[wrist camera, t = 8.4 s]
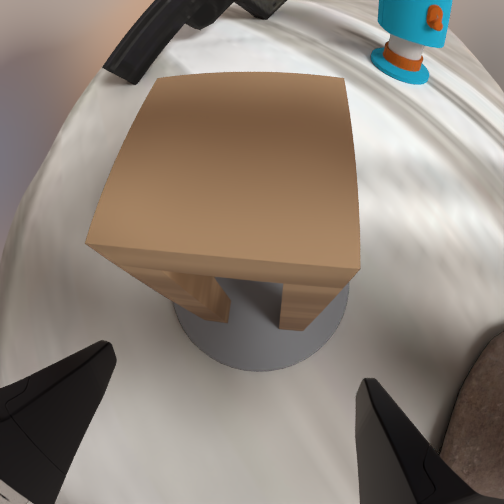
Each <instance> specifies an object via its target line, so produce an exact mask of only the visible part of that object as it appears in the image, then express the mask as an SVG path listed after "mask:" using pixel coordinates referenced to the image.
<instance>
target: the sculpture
mask: <svg viewBox="0 0 504 504" xmlns="http://www.w3.org/2000/svg"><path fill="white" fill-rule="evenodd" d="M439 456H440V457H441V458H442V459H443V460H444V462H445V463H446V464H447V465H448V466H449V467H450V468H451V469H452V470H453V471H454V472H455V473H456V474H457V475H458V476H459V477H461V478H462V479H463V480H464V481H465V482H466V483H467V484H468V485H469V486H470V487H471V488H472V489H473V490H475V491H476V492H478V493H480V494H482V495H484V496H488V497H494V498H500V499H504V331H503V332H502V333H500V334H499V335H497V336H496V337H495V338H493V339H492V340H491V341H490V342H489V344H488V345H487V346H486V348H485V349H484V350H483V352H482V353H481V355H480V356H479V358H478V360H477V361H476V363H475V364H474V366H473V367H472V368H471V371H470V372H469V375H468V376H467V378H466V379H465V381H464V383H463V386H462V388H461V389H460V392H459V393H458V398H457V401H456V403H455V407H454V409H453V413H452V416H451V420H450V423H449V426H448V429H447V431H446V435H445V438H444V442H443V446H442V449H441V452H440V455H439Z"/></svg>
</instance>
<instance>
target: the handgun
mask: <svg viewBox="0 0 504 504" xmlns="http://www.w3.org/2000/svg"><path fill="white" fill-rule="evenodd" d="M286 1H287V0H155V1H154V2H153V3H152V4H151V5H150V6H149V8H148V9H147V10H146V11H145V12H144V13H143V14H142V16H141V17H140V18H139V19H138V20H137V22H136V23H135V24H134V25H133V26H132V27H131V29H130V30H129V31H128V33H127V34H126V35H125V36H124V38H123V39H122V40H121V42H120V43H119V44H118V46H117V47H116V48H115V50H114V51H113V52H112V54H111V55H110V57H109V58H108V59H107V61H106V62H105V64H104V65H103V67H102V68H104V69H106V70H107V71H109V72H111V73H113V74H115V75H117V76H119V77H121V78H123V79H125V80H127V81H129V82H131V83H133V84H135V85H136V84H138V82H139V81H140V79H141V78H142V76H143V75H144V74H145V72H146V71H147V70H148V68H149V67H150V66H151V64H152V63H153V62H154V60H155V59H156V58H157V56H158V55H159V54H160V53H161V51H162V50H163V49H164V48H165V46H166V45H167V44H168V43H169V41H170V40H171V39H172V38H173V37H174V35H175V34H176V33H177V32H178V31H179V30H180V29H181V27H182V26H183V25H184V24H187V25H189V26H191V27H193V28H195V29H199V30H201V29H203V28H205V27H207V26H208V25H211V24H213V23H214V22H215V21H216V19H217V18H218V17H219V16H220V15H221V14H222V13H223V12H224V11H225V10H226V9H227V8H228V7H229V6H230V5H231V4H232V3H233V2H235V3H236V4H238V5H239V6H241V7H242V8H244V9H245V10H246V11H248V12H249V13H250V14H252V15H253V16H255V17H258V18H262V19H265V20H267V19H268V18H269V17H270V16H271V15H272V14H273V13H274V12H275V11H276V10H277V9H278V8H280V7H281V6H282V5H283V4H284V3H285V2H286Z"/></svg>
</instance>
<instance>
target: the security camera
mask: <svg viewBox="0 0 504 504" xmlns="http://www.w3.org/2000/svg"><path fill="white" fill-rule="evenodd" d="M451 6H452V0H379V9H378V23H379V24H380V26H382V27H383V28H384V29H385V30H386V31H387V32H389V33H390V39H389V41H388V42H387V43H386V44H385V48H377V49H374V50H373V51H372V54H371V60H372V62H373V64H374V65H375V66H376V67H377V68H378V69H379V70H381V71H382V72H384V73H385V74H387V75H389V76H391V77H393V78H395V79H397V80H400V81H403V82H406V83H410V84H424V83H426V82H427V81H428V78H429V72H428V70H427V68H426V67H425V66H424V65H423V64H422V61H423V56H422V52H423V49H424V46H429V47H435V48H442V47H444V43H445V38H446V33H447V28H448V23H449V18H450V12H451Z"/></svg>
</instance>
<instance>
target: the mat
mask: <svg viewBox="0 0 504 504" xmlns="http://www.w3.org/2000/svg"><path fill="white" fill-rule="evenodd" d="M215 279H216V281H217V282H218V284H219V285H220V286H221V288H222V289H223V290H224V292H225V293H226V294H227V296H228V297H229V298H230V300H231V305H230V312H229V319H228V323H221V322H214V321H207V320H204V319H202V318H200V317H198V316H197V315H195V314H193V313H192V312H190V311H188V310H186V309H185V308H183V307H181V306H180V305H178V304H176V303H175V302H173V303H174V307H175V311H176V314H177V317H178V319H179V322H180V324H181V325H182V327H183V329H184V331H185V332H186V334H187V335H188V337H189V338H190V339H191V341H192V342H193V343H194V344H195V345H196V346H197V347H198V348H199V349H200V350H201V351H203V352H204V353H205V354H207V355H208V356H209V357H211V358H213V359H214V360H216V361H218V362H220V363H222V364H224V365H227V366H230V367H232V368H236V369H240V370H245V371H256V372H259V371H272V370H278V369H283V368H286V367H289V366H292V365H295V364H297V363H299V362H301V361H303V360H305V359H306V358H308V357H309V356H311V355H312V354H314V353H315V352H316V351H317V350H319V349H320V348H321V347H322V346H323V345H324V344H325V343H326V342H327V341H328V339H329V338H330V337H331V336H332V335H333V333H334V332H335V330H336V328H337V327H338V325H339V323H340V321H341V319H342V317H343V314H344V311H345V308H346V304H347V300H348V293H349V282H348V284H347V285H346V286H345V287H344V288H343V289H342V290H341V291H340V292H339V294H338V295H337V296H336V297H335V298H334V299H333V300H332V301H331V302H330V303H329V305H328V306H327V307H326V308H325V309H324V310H323V311H322V312H321V313H320V314H319V315H318V316H317V317H316V318H315V319H314V320H313V321H312V322H311V324H310V325H309V326H308V327H307V328H306V329H305V330H304V331H294V330H283V329H279V323H280V313H281V303H282V292H283V284H282V283H272V282H261V281H251V280H241V279H231V278H222V277H215Z"/></svg>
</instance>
